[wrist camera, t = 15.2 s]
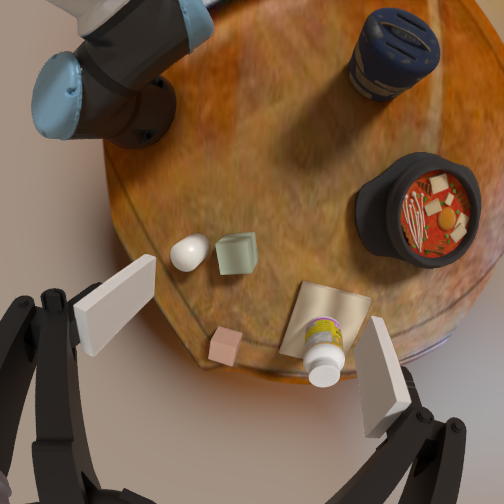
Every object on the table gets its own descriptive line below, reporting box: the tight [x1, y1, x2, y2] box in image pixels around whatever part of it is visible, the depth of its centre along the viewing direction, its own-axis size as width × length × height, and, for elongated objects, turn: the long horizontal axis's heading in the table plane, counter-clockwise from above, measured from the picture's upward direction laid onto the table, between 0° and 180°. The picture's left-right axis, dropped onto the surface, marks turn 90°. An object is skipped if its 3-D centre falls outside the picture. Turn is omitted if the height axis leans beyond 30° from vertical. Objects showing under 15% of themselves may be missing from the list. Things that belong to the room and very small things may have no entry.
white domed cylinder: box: [170, 233, 211, 272], centre depth 47 cm, size 5×5×6 cm
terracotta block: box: [208, 326, 242, 366], centre depth 52 cm, size 5×5×5 cm
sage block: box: [215, 232, 258, 275], centre depth 45 cm, size 5×5×6 cm
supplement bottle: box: [303, 316, 345, 387], centre depth 43 cm, size 7×7×13 cm
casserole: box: [355, 152, 481, 269], centre depth 36 cm, size 25×19×8 cm
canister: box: [348, 8, 440, 101], centre depth 26 cm, size 10×10×18 cm
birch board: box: [279, 280, 372, 359], centre depth 49 cm, size 13×16×1 cm
